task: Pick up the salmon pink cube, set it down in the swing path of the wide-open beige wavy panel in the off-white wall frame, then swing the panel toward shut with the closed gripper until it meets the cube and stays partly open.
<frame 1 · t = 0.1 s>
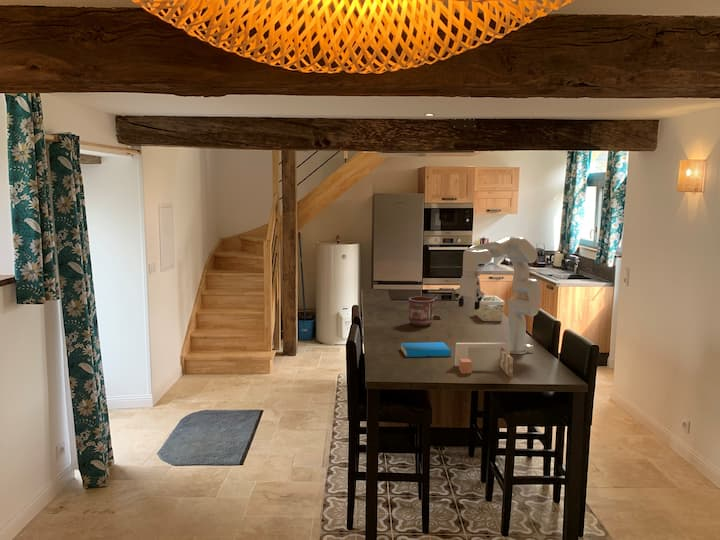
hand: (468, 307, 294), 31 cm above the table, tool pointing down, fingers open, 9 cm apart
wall frame: (482, 365, 301), on the table
book: (425, 353, 325), on the table
salmon pink cube: (465, 371, 291), on the table
storage basket: (489, 318, 415), on the table
beige wavy panel: (505, 362, 291), point 5 cm above the table, hinge at 90.0°
pottery: (420, 325, 393), on the table
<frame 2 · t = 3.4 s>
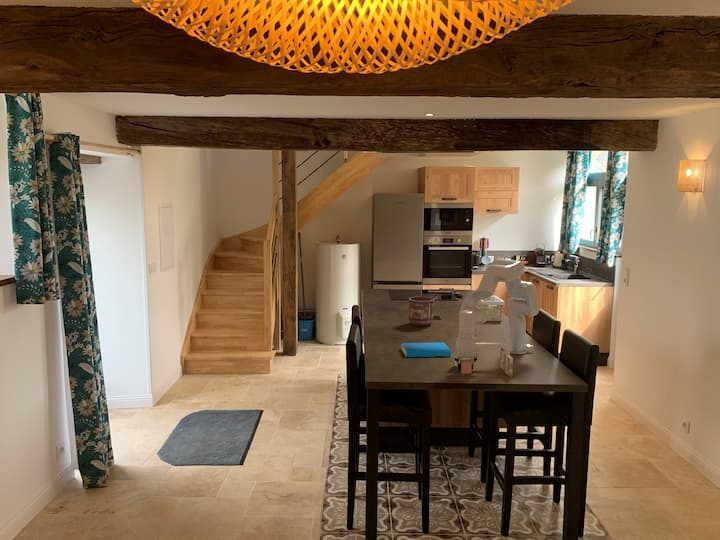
hand: (465, 370, 291), 1 cm above the table, tool pointing down, fingers closed on salmon pink cube, 5 cm apart
salmon pink cube: (465, 371, 291), on the table, touching gripper
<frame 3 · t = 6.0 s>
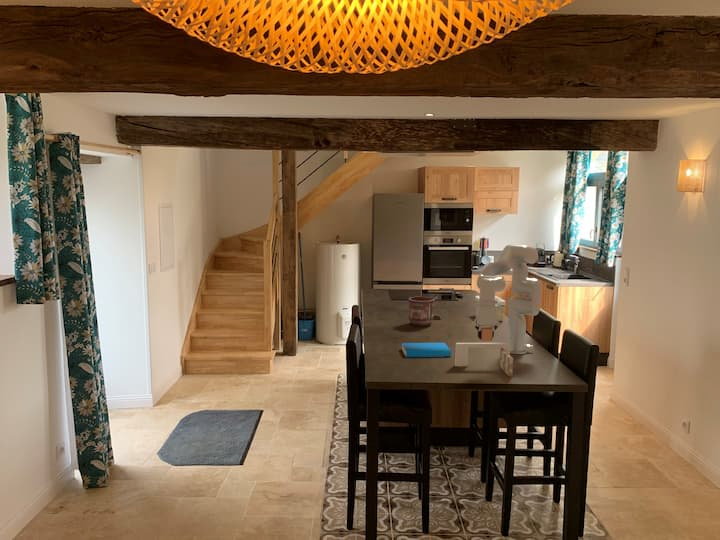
hand: (485, 338, 290), 17 cm above the table, tool pointing down, fingers closed on salmon pink cube, 5 cm apart
salmon pink cube: (485, 339, 290), point 16 cm above the table, touching gripper
when the fingers open (1 cm above the table, at t = 9.1 s): salmon pink cube stays where it is, on the table.
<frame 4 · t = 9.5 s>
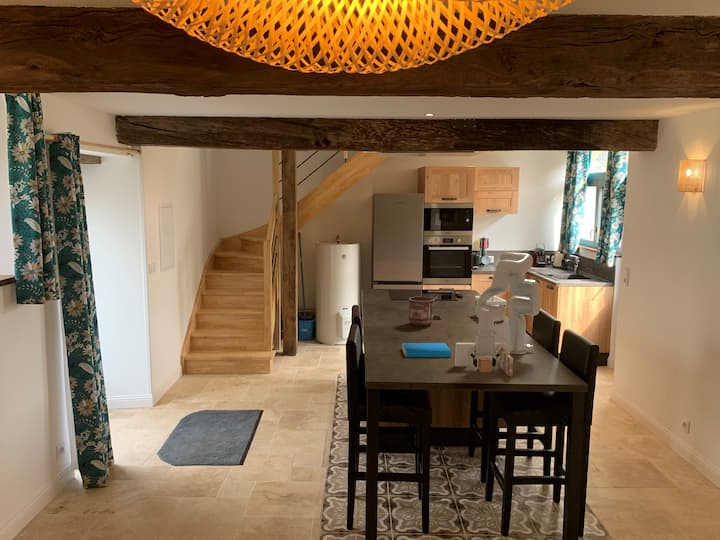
hand: (484, 366, 292), 2 cm above the table, tool pointing down, fingers open, 8 cm apart
salmon pink cube: (484, 370, 293), on the table
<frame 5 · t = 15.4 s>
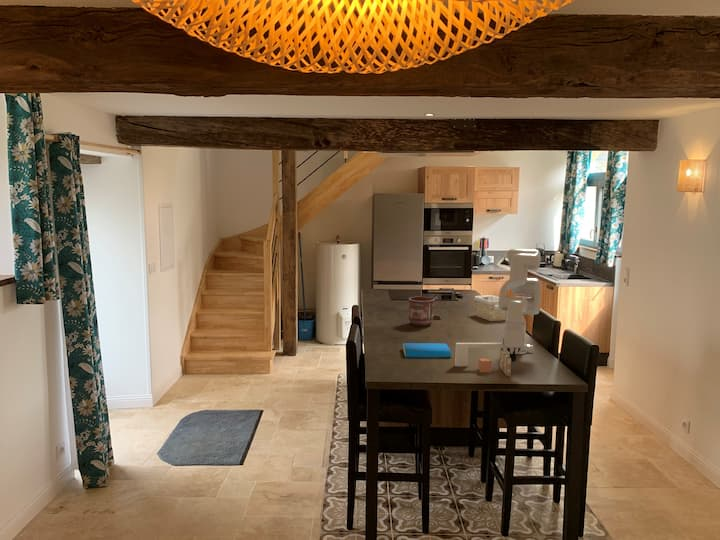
hand: (512, 360, 287), 7 cm above the table, tool pointing down, fingers closed
beige wavy panel: (505, 362, 291), point 5 cm above the table, hinge at 86.7°, touching gripper
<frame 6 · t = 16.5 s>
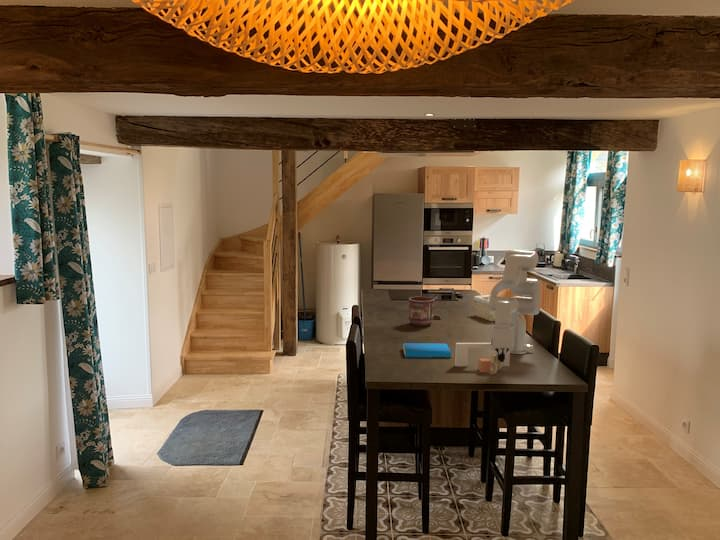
hand: (501, 361, 287), 6 cm above the table, tool pointing down, fingers closed
beige wavy panel: (497, 361, 292), point 5 cm above the table, hinge at 58.3°, touching gripper
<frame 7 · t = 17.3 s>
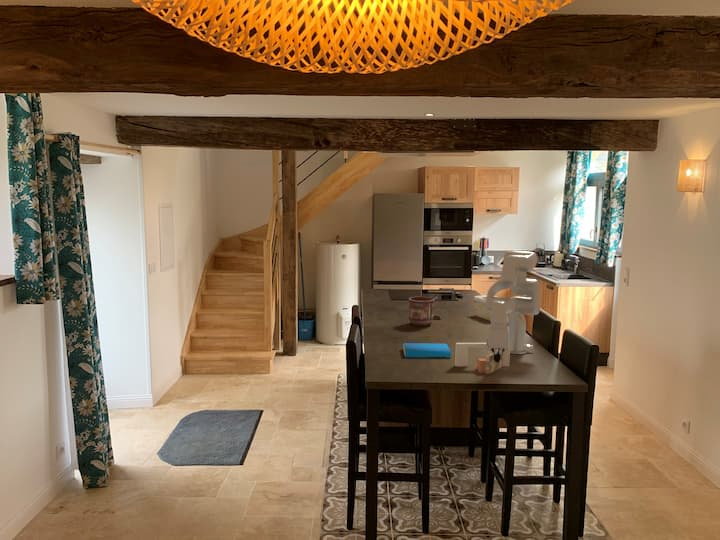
hand: (497, 361, 287), 6 cm above the table, tool pointing down, fingers closed
salmon pink cube: (482, 370, 293), on the table, touching beige wavy panel
beige wavy panel: (494, 361, 293), point 5 cm above the table, hinge at 50.3°, touching salmon pink cube, gripper
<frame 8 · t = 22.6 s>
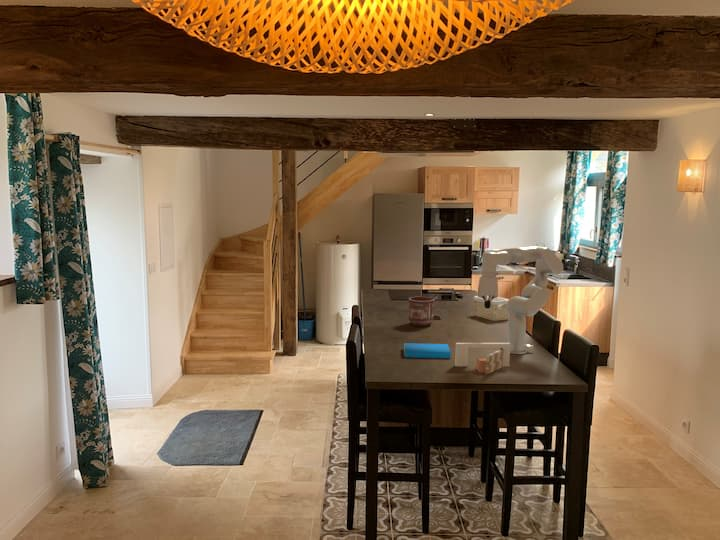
hand: (487, 308, 314), 27 cm above the table, tool pointing down, fingers closed
salmon pink cube: (482, 370, 293), on the table
beige wavy panel: (494, 361, 293), point 5 cm above the table, hinge at 49.9°
at the end: beige wavy panel at +50° (first picture: +90°); salmon pink cube inside the target area (0.5 cm from its centre), on the table; salmon pink cube tilted 0° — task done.
